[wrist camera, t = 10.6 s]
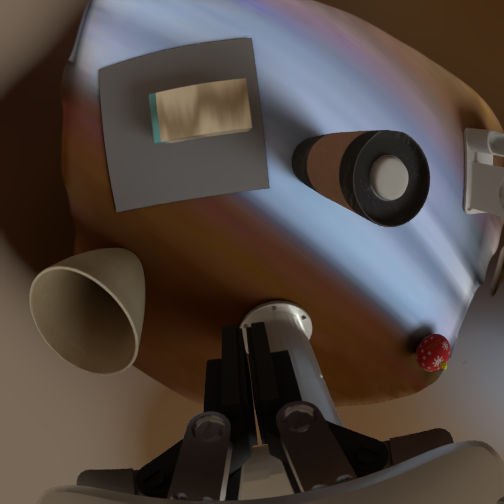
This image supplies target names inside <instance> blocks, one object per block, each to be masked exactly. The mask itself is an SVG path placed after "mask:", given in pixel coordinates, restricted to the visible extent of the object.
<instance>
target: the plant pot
mask: <svg viewBox="0 0 504 504" xmlns="http://www.w3.org/2000/svg"><path fill="white" fill-rule="evenodd" d="M29 304H30V310H31V315H32V317H33V321H34V323H35V325H36V327H37V329H38V331H39V333H40V334H41V336H42V338H43V339H44V340H45V342H46V343H47V344H48V345H49V346H50V348H51V349H52V350H53V351H54V352H55V353H56V354H57V355H58V356H60V357H61V358H62V359H63V360H65V361H66V362H67V363H69V364H70V365H72V366H74V367H76V368H78V369H80V370H82V371H85V372H88V373H91V374H96V375H115V374H119V373H121V372H123V371H125V370H127V369H128V368H129V367H130V366H131V365H132V364H133V363H134V361H135V359H136V357H137V354H138V349H139V343H140V338H141V332H142V326H143V320H144V310H145V278H144V271H143V267H142V264H141V262H140V260H139V259H138V257H137V256H136V255H135V254H134V253H132V252H131V251H129V250H127V249H124V248H103V249H97V250H92V251H88V252H84V253H81V254H78V255H75V256H72V257H69V258H67V259H65V260H63V261H60V262H58V263H56V264H54V265H52V266H50V267H48V268H46V269H44V270H43V271H41V272H40V273H39V274H38V275H37V276H36V278H35V279H34V281H33V282H32V285H31V288H30V293H29Z"/></svg>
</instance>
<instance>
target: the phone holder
mask: <svg viewBox="0 0 504 504" xmlns="http://www.w3.org/2000/svg"><path fill="white" fill-rule="evenodd" d="M464 149H465V182H464V202H463V210H464V212H465V213H467V214H475V213H485V212H487V213H490V214H493V215H496V216H500V217H503V218H504V168H502V167H498V166H493V155H498V156H503V157H504V134H503V133H500V132H497V131H494V130H487V129H473V128H465V130H464Z"/></svg>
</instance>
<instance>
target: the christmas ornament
mask: <svg viewBox="0 0 504 504" xmlns="http://www.w3.org/2000/svg"><path fill="white" fill-rule="evenodd" d="M449 356H450V345H449V342H448V340H447V339H446V338H445V337H444V336H442V335H440V334H431V335H428V336H426V337H425V338H424V339H422V340H421V342H420V343H419V345H418V347H417V350H416V360H417V362H418V364H419V366H420V367H421V368H422V369H424V370H426V371H436V370H438V369H440V368H443V369H446V368H447V365H446V362H447V361H448V359H449Z"/></svg>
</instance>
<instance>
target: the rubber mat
mask: <svg viewBox="0 0 504 504" xmlns="http://www.w3.org/2000/svg"><path fill="white" fill-rule="evenodd" d="M99 77H100V98H101V112H102V123H103V132H104V141H105V148H106V155H107V162H108V169H109V175H110V180H111V186H112V191H113V196H114V201H115V206H116V211H117V212H121V211H126V210H131V209H136V208H141V207H146V206H152V205H157V204H163V203H168V202H174V201H180V200H186V199H193V198H199V197H206V196H213V195H220V194H227V193H235V192H242V191H250V190H259V189H268V188H270V187H269V177H268V167H267V158H266V149H265V140H264V131H263V122H262V114H261V105H260V97H259V89H258V81H257V73H256V66H255V58H254V51H253V44H252V38H245V39H233V40H223V41H215V42H208V43H201V44H195V45H189V46H184V47H178V48H174V49H169V50H165V51H160V52H156V53H152V54H148V55H145V56H141V57H137V58H134V59H131V60H127V61H124V62H121V63H118V64H115V65H112V66H109V67H106V68H104V69H101V70H99ZM243 78H246V82H247V90H248V98H249V106H250V115H251V123H252V129H251V130H249V131H248V132H240V133H231V134H224V135H216V136H210V137H203V138H197V139H191V140H185V141H180V142H175V143H169V144H155V143H154V137H153V129H152V120H151V111H150V101H149V94H153V93H157V92H161V91H166V90H171V89H175V88H180V87H186V86H191V85H197V84H203V83H210V82H217V81H225V80H233V79H243Z"/></svg>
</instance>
